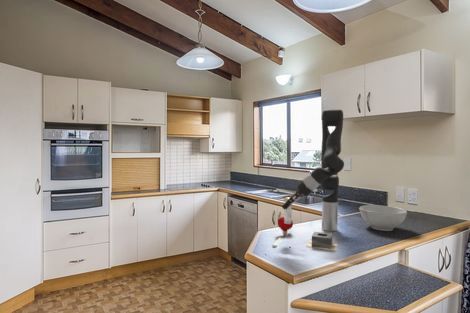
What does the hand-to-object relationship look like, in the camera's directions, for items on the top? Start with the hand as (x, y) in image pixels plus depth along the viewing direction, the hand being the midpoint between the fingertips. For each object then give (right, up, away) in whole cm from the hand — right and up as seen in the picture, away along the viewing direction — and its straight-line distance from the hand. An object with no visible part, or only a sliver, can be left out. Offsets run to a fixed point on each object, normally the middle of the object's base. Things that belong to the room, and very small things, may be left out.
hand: (284, 207), depth 160 cm
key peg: (+2, -8, -1) cm, 8 cm away
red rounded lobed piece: (+3, -19, +16) cm, 25 cm away
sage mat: (+2, -19, 0) cm, 19 cm away
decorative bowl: (+67, -19, +35) cm, 78 cm away
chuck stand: (+18, -19, -5) cm, 27 cm away
